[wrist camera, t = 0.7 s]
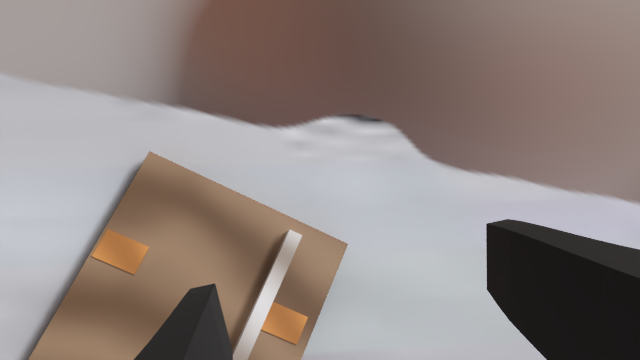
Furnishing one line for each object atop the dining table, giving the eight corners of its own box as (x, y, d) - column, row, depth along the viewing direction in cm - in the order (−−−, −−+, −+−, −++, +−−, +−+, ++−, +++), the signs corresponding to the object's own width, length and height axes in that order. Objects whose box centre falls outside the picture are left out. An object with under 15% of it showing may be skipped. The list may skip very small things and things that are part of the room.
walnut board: (215, 555, 27) (213, 586, 24) (-27, 467, 25) (-56, 491, 23) (342, 244, 33) (352, 243, 30) (153, 156, 31) (146, 146, 28)
